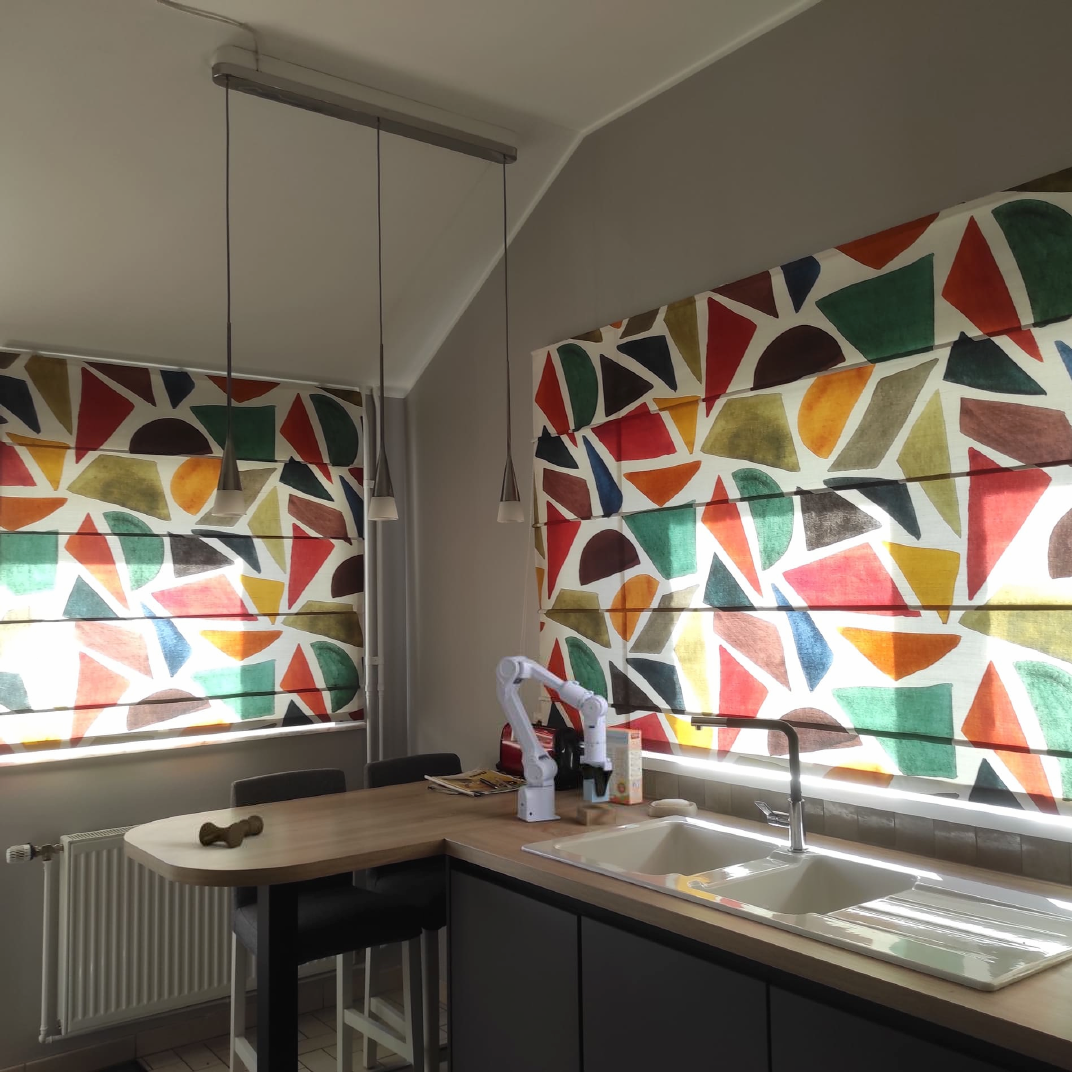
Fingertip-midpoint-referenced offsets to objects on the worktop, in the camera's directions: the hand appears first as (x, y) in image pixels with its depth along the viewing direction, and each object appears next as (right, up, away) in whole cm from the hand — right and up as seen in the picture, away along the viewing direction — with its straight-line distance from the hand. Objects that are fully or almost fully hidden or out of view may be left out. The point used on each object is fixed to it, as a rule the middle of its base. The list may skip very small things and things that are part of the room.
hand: (596, 794), depth 260 cm
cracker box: (+8, -10, +28) cm, 31 cm away
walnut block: (0, -7, -1) cm, 7 cm away
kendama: (-90, -7, -20) cm, 92 cm away
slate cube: (0, -1, 0) cm, 1 cm away
